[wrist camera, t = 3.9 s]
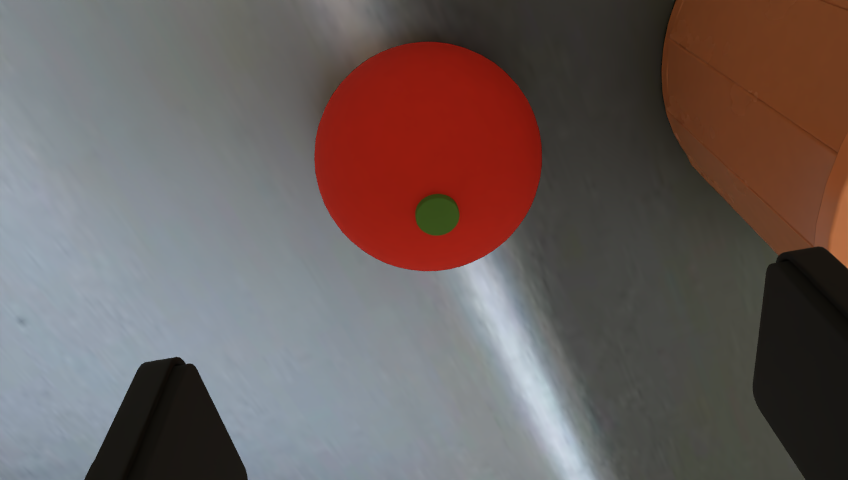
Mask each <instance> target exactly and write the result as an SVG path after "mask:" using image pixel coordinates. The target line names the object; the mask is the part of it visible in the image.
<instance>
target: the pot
mask: <svg viewBox="0 0 848 480" xmlns="http://www.w3.org/2000/svg"><path fill="white" fill-rule="evenodd" d="M661 72H662V92H663V98H664V103H665V108H666V113H667V117H668V119H669V122H670V125H671V128H672V130H673V133H674V135H675V137H676V138H677V140H678V142H679V144H680V146H681V147H682V149H683V151H684V152H685V153H686V154H687V156H688V159H689V161H690V163H691V165H692V166H693V167H694V168H695V169H696V170H697V171H698V172H699V173H700V174H701V176H702V177H703V178H704V179H705V180H706V181H707V182H708V183H709V184H710V185H711V186H712V187H713V188H714V189H715V190H716V191H717V192H718V193H719V194H720V195H721V196H722V197H723V198H724V199H725V200H726V201H727V202H728V203H729V205H730V206H731V207H732V208H733V209H734V210H735V211H736V212H737V213H738V214H739V215H740V216H741V217H742V218H743V219H744V220H745V221H746V222H747V223H748V224H749V225H750V226H751V227H752V228H753V229H754V230H755V231H756V232H757V234H758V235H759V236H760V237H761V238H762V239H763V240H764V241H765V242H766V243H767V244H768V245H769V246H770V247H771V248H772V249H773V250H774V251H775V252H776V253H777V254H778V255H780V254H781V253H783V252H788V251H794V250H800V249H806V248H811V247H814V239H815V228H816V221H817V217H818V213H819V208H820V204H821V200H822V196H823V192H824V188H825V184H826V182H827V179H828V177H829V174H830V171H831V169H832V166H833V164H834V161H835V158H836V156H837V153H838V151H839V148H840V145H841V143H842V141H843V139H844V137H845V135H846V133H847V132H848V0H676V1H675V4H674V7H673V10H672V13H671V16H670V19H669V23H668V28H667V32H666V37H665V42H664V47H663V59H662V70H661Z"/></svg>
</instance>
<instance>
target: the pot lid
mask: <svg viewBox="0 0 848 480" xmlns="http://www.w3.org/2000/svg"><path fill="white" fill-rule="evenodd" d="M817 246H819V247H824V248H825V249H827V250H828V251H829V252H830V253H831V254H832V255H833V256H835V257H836V258H837V259H838V260H839V261H840V262H841V263H842V264H843V265H844V266H845V267H847V268H848V132H847V133H846V135H845V137H844V139H843V141H842V143H841V145H840V148H839V151H838V153H837V156H836V158H835V161H834V164H833V166H832V169H831V171H830V174H829V177H828V179H827V182H826V184H825V188H824V192H823V196H822V200H821V204H820V208H819V213H818V217H817V221H816V228H815V239H814V247H817Z"/></svg>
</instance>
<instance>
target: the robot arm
mask: <svg viewBox="0 0 848 480" xmlns="http://www.w3.org/2000/svg"><path fill="white" fill-rule="evenodd" d="M753 394H754V398H755V401H756V404H757V406H758V408H759V410H760V411H761V413H762V414H763V416H764V417H765V419H766V420H767V422H768V423H769V425H770V426H771V428H772V429H773V431H774V432H775V434H776V435H777V437H778V438H779V440H780V441H781V443H782V445H783V446H784V448H785V449H786V451H787V452H788V454H789V455H790V457H791V458H792V460H793V461H794V463H795V464H796V466H797V467H798V469H799V470H800V472H801V473H802V475H803V476H804V478H805V479H806V480H848V268H847V267H845V266H844V265H843V264H842V263H841V262H840V261H839V260H838V259H837V258H836V257H835V256H833V255H832V254H831V253H830V252H829V251H828V250H827V249H825V248H824V247H819V246H817V247H811V248H806V249H800V250H794V251H788V252H783V253H781V254H780V255H779V256H778V258H777V261H776V263H773V264H770V265H769V266H768V268H767V272H766V279H765V287H764V296H763V304H762V312H761V321H760V329H759V337H758V346H757V354H756V362H755V371H754V379H753ZM84 480H248V478H247V472H246V469H245V467H244V465H243V463H242V461H241V459H240V456H239V454H238V452H237V450H236V448H235V446H234V444H233V442H232V440H231V438H230V436H229V434H228V432H227V430H226V428H225V426H224V424H223V422H222V420H221V418H220V416H219V413H218V411H217V409H216V407H215V405H214V403H213V401H212V399H211V397H210V395H209V393H208V391H207V389H206V387H205V385H204V383H203V381H202V379H201V377H200V375H199V373H198V370H197V369H196V367H195V366H194V365H193V364H185V362H184V361H183V360H182V359H181V358H180V357H174V358H168V359H162V360H156V361H151V362H145V363H143V364H141V366H140V367H139V368H138V370H137V372H136V374H135V376H134V379H133V381H132V383H131V385H130V387H129V389H128V391H127V393H126V395H125V397H124V400H123V402H122V404H121V406H120V408H119V410H118V412H117V414H116V416H115V418H114V421H113V423H112V425H111V427H110V429H109V431H108V433H107V435H106V437H105V439H104V442H103V444H102V446H101V448H100V450H99V452H98V454H97V456H96V458H95V460H94V462H93V463H92V465H91V467H90V469H89V471H88V473H87V475H86V477H85V479H84Z"/></svg>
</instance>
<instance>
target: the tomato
mask: <svg viewBox="0 0 848 480" xmlns="http://www.w3.org/2000/svg"><path fill="white" fill-rule="evenodd" d="M314 160H315V173H316V178H317V182H318V186H319V190H320V193H321V196H322V199H323V201H324V204H325V206H326V208H327V210H328V211H329V213H330V215H331V217H332V218H333V220H334V221H335V223H336V224H337V225H338V227H339V228H340V229H341V231H342V232H343V233H344V234H345V235H346V236H347V237H348V238H349V239H350V240H351V241H352V242H353V243H354V244H356V245H357V246H358V247H359V248H361V249H362V250H363V251H365V252H366V253H368V254H369V255H371V256H373V257H374V258H376V259H378V260H380V261H383V262H385V263H387V264H390V265H393V266H396V267H400V268H405V269H410V270H418V271H439V270H447V269H452V268H456V267H460V266H463V265H466V264H469V263H471V262H473V261H475V260H478V259H480V258H482V257H484V256H485V255H487V254H489V253H490V252H492V251H493V250H495V249H496V248H497V247H499V246H500V245H501V244H502V243H503V242H505V241H506V240H507V239H508V238H509V237H510V236H511V235H512V234H513V232H514V231H515V230H516V228H517V227H518V226H519V225H520V223H521V222H522V220H523V219H524V217H525V216H526V214H527V212H528V210H529V209H530V207H531V204H532V202H533V200H534V197H535V194H536V191H537V187H538V183H539V180H540V175H541V167H542V147H541V139H540V133H539V128H538V125H537V122H536V119H535V116H534V113H533V111H532V109H531V107H530V104H529V102H528V100H527V98H526V97H525V95H524V94H523V93H522V91H521V90H520V88H519V87H518V85H517V84H516V83H515V82H514V81H513V80H512V79H511V78H510V77H509V75H508V74H507V73H506V72H505V71H504V70H502V69H501V68H500V67H499V66H497V65H496V64H495V63H494V62H492V61H490V60H489V59H487V58H485V57H484V56H482V55H480V54H478V53H476V52H473V51H471V50H469V49H466V48H464V47H460V46H456V45H453V44H447V43H440V42H416V43H409V44H404V45H400V46H396V47H393V48H390V49H388V50H385V51H383V52H380V53H378V54H376V55H375V56H373V57H371V58H369V59H368V60H366V61H365V62H363V63H362V64H361V65H359V66H358V67H357V68H356V69H354V70H353V71H352V72H351V73H350V74H349V75H348V76H347V77H346V78H345V79H344V80H343V81H342V82H341V84H340V85H339V86H338V88H337V89H336V90H335V92H334V93H333V94H332V96H331V98H330V100H329V102H328V104H327V105H326V107H325V110H324V112H323V115H322V118H321V120H320V123H319V126H318V131H317V135H316V141H315V159H314Z"/></svg>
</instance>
